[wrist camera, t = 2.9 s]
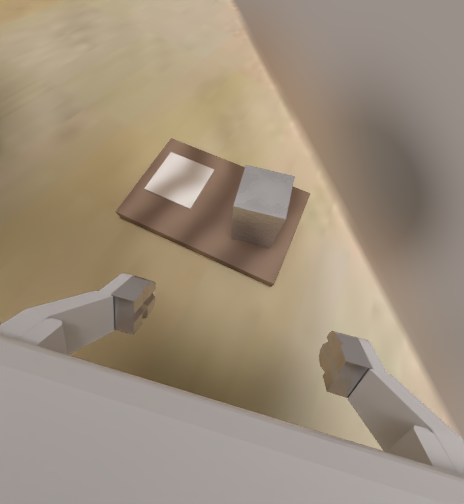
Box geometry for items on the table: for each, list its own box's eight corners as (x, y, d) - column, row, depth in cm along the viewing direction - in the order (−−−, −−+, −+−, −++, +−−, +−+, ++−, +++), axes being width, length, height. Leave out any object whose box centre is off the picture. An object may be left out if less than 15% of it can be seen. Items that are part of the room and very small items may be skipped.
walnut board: (120, 217, 29) (87, 181, 22) (173, 146, 34) (159, 97, 27) (271, 286, 27) (288, 271, 20) (306, 199, 31) (330, 161, 24)
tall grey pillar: (230, 238, 27) (233, 206, 20) (240, 205, 29) (245, 164, 22) (269, 248, 27) (285, 219, 20) (277, 214, 28) (294, 176, 21)
